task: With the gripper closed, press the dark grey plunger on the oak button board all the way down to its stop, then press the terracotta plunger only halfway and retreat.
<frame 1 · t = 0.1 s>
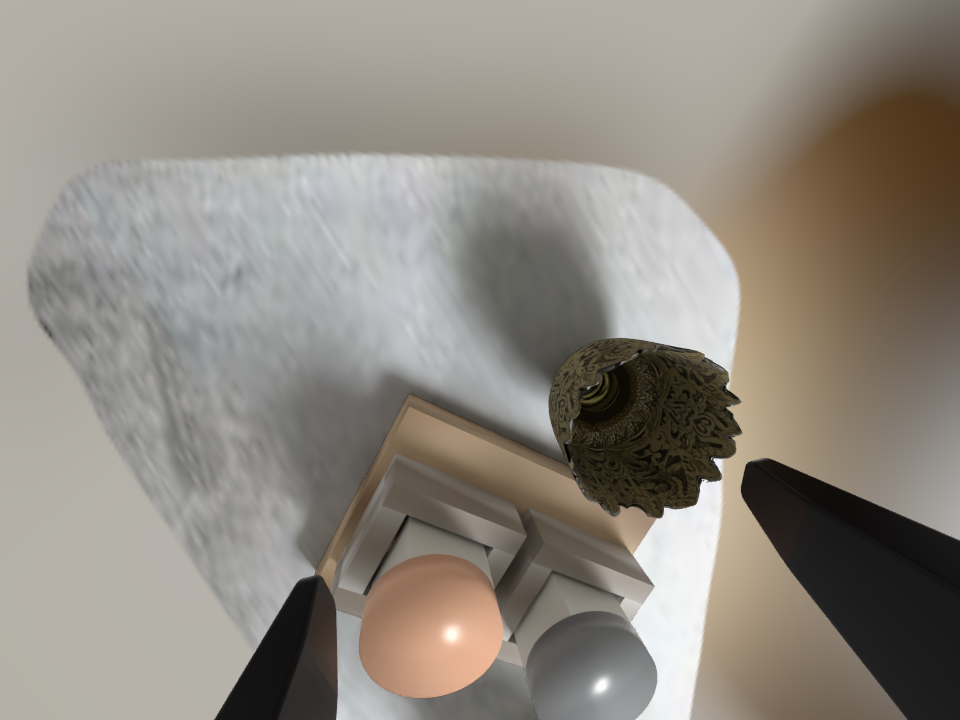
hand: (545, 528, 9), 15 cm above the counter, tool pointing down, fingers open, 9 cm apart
button board: (484, 533, 27), on the counter
plunger grey: (578, 647, 21), point 7 cm above the counter, slide at 0.0 cm
plunger terracotta: (430, 598, 19), point 7 cm above the counter, slide at 0.0 cm
cup: (583, 378, 26), on the counter
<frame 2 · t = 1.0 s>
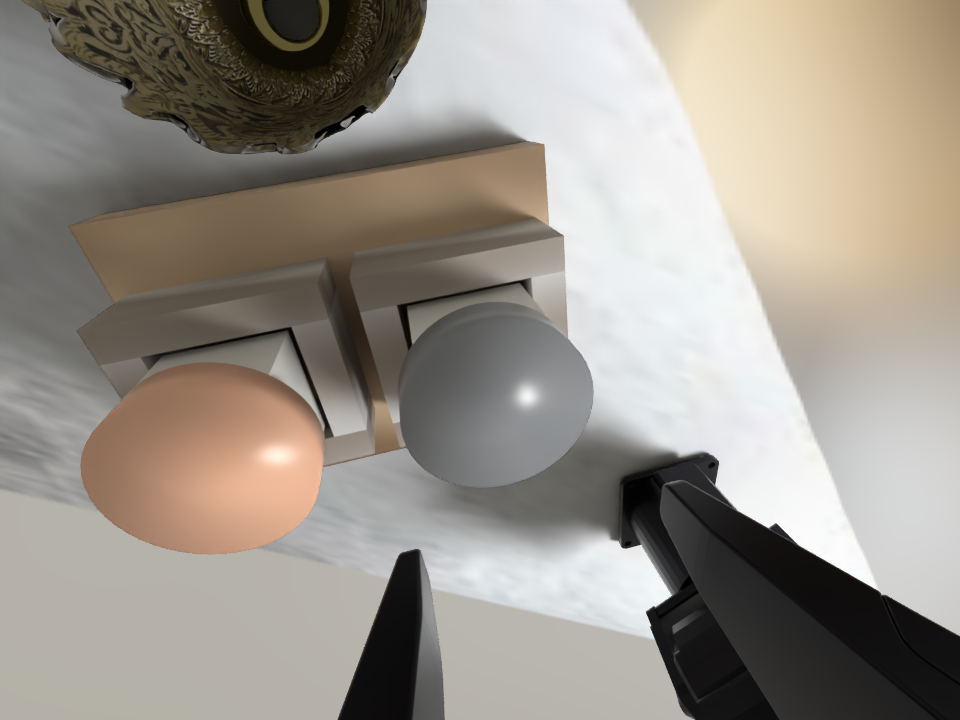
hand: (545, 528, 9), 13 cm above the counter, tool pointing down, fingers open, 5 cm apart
button board: (366, 318, 20), on the counter
plunger grey: (484, 374, 15), point 7 cm above the counter, slide at 0.0 cm
plunger terracotta: (232, 431, 14), point 7 cm above the counter, slide at 0.0 cm
cup: (293, 10, 15), on the counter
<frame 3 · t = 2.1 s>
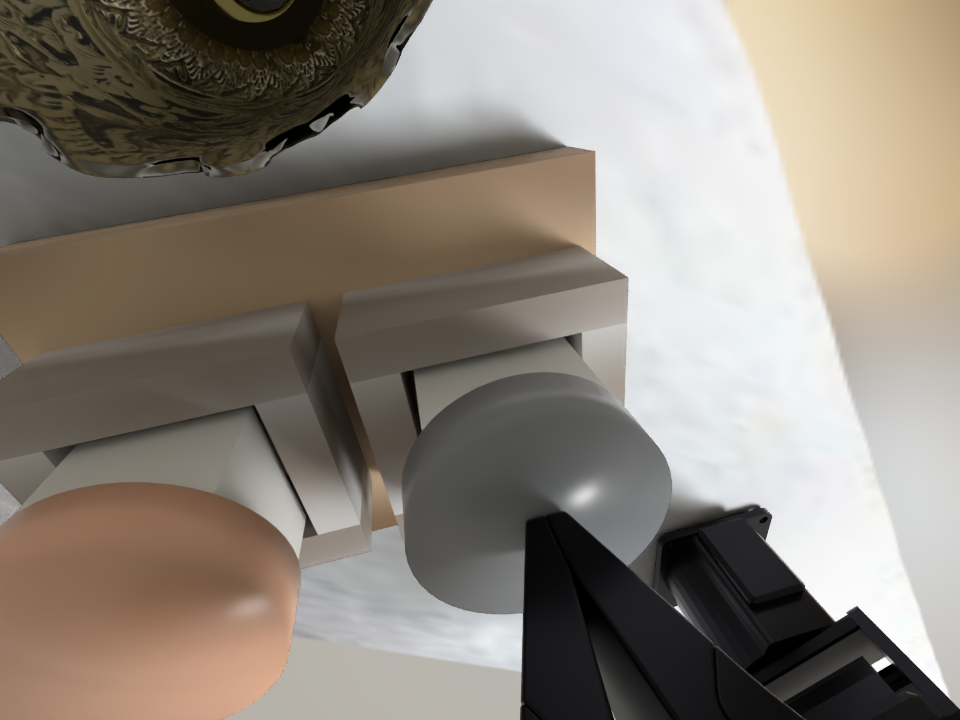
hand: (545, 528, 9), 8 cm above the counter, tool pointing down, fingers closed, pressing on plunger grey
button board: (361, 367, 16), on the counter
plunger grey: (515, 456, 11), point 6 cm above the counter, slide at 0.4 cm, touching gripper
plunger terracotta: (169, 555, 10), point 7 cm above the counter, slide at 0.0 cm
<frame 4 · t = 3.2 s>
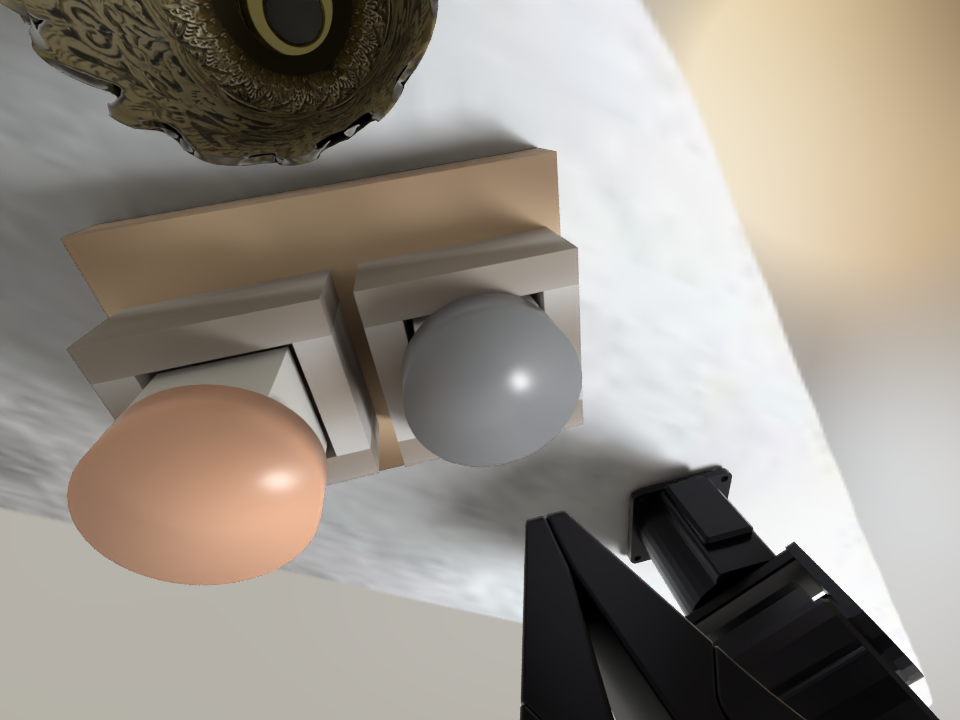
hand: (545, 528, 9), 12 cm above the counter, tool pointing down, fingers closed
button board: (370, 330, 19), on the counter
plunger grey: (481, 362, 16), point 5 cm above the counter, slide at 2.1 cm
plunger terracotta: (229, 453, 13), point 7 cm above the counter, slide at 0.0 cm
cup: (295, 13, 14), on the counter
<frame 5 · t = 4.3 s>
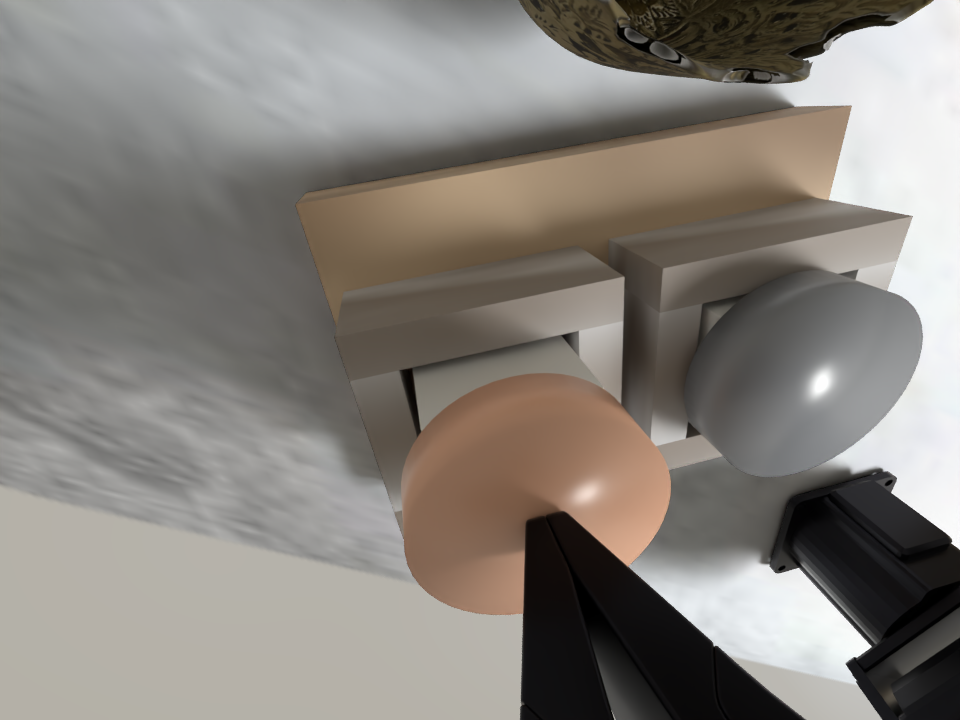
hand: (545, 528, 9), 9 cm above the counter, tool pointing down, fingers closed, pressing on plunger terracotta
button board: (572, 320, 17), on the counter
plunger grey: (757, 354, 13), point 5 cm above the counter, slide at 2.1 cm
plunger terracotta: (514, 457, 11), point 6 cm above the counter, slide at 0.3 cm, touching gripper
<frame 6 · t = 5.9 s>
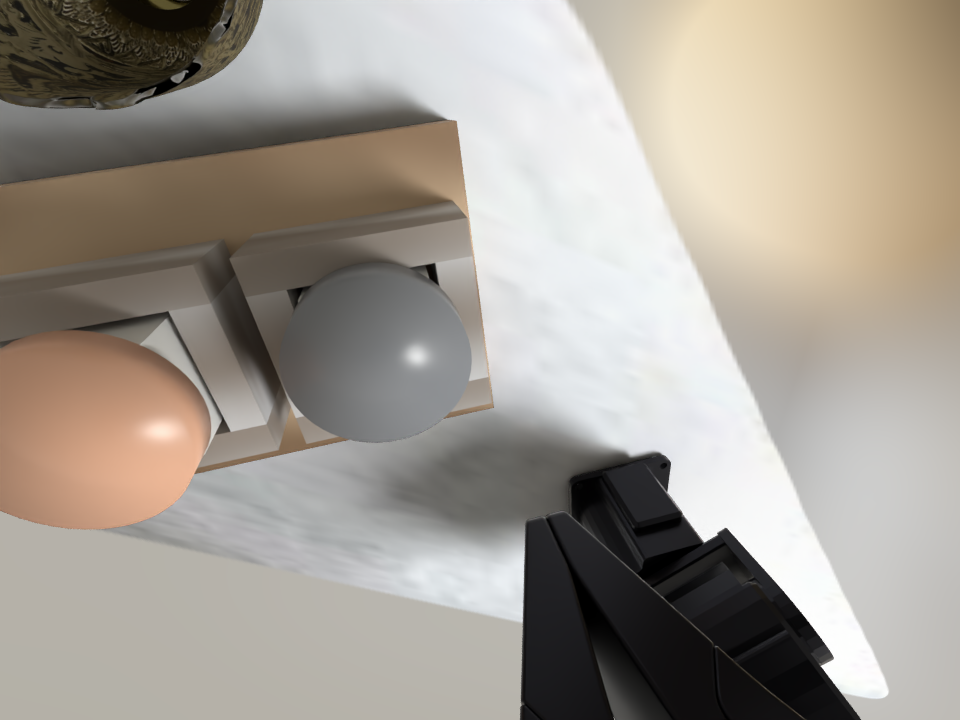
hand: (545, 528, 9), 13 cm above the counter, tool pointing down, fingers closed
button board: (284, 307, 19), on the counter
plunger grey: (379, 336, 15), point 5 cm above the counter, slide at 2.1 cm
plunger terracotta: (114, 404, 13), point 6 cm above the counter, slide at 1.0 cm
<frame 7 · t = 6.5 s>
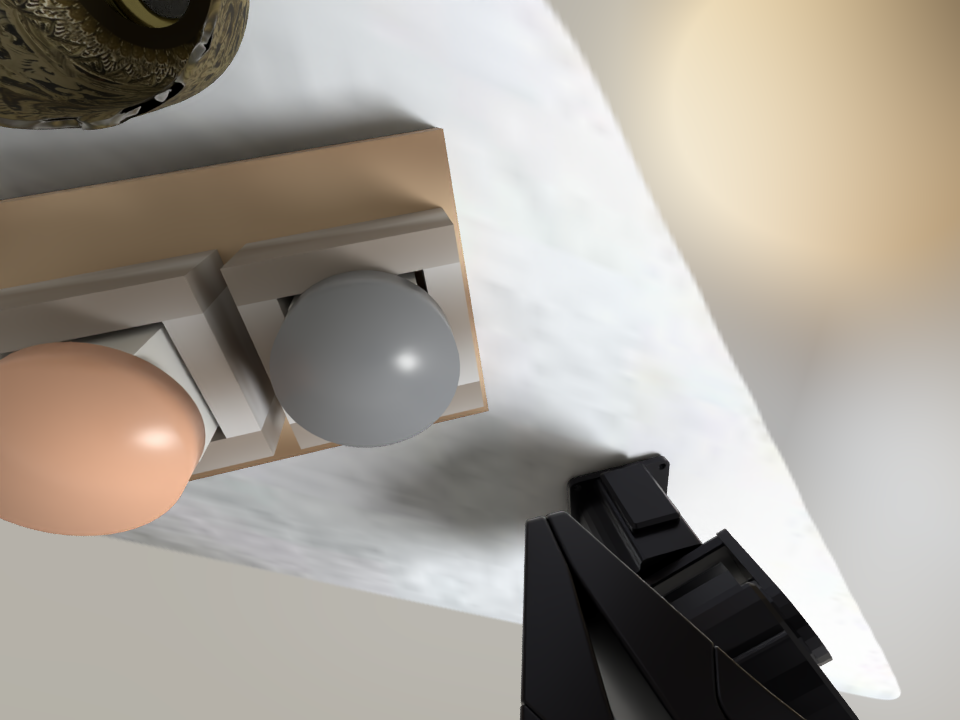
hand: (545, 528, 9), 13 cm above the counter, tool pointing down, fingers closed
button board: (279, 314, 19), on the counter
plunger grey: (370, 342, 15), point 5 cm above the counter, slide at 2.1 cm
plunger terracotta: (110, 413, 14), point 6 cm above the counter, slide at 1.0 cm
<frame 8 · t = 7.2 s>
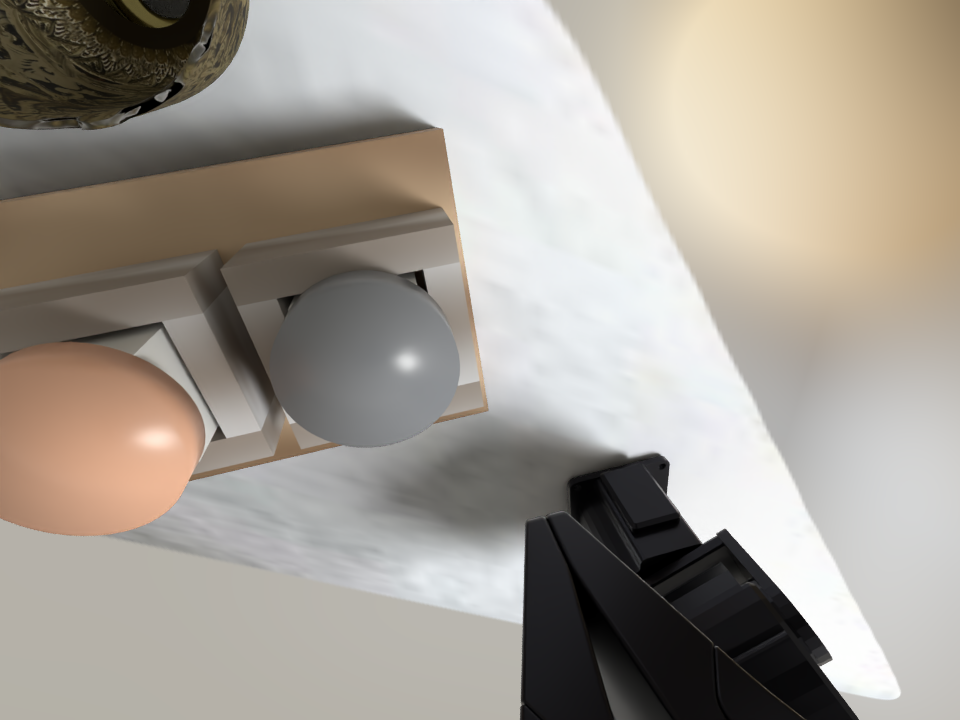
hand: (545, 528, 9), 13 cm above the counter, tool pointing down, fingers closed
button board: (279, 314, 19), on the counter
plunger grey: (370, 342, 15), point 5 cm above the counter, slide at 2.1 cm
plunger terracotta: (110, 413, 14), point 6 cm above the counter, slide at 1.0 cm
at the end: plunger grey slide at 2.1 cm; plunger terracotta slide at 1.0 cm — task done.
